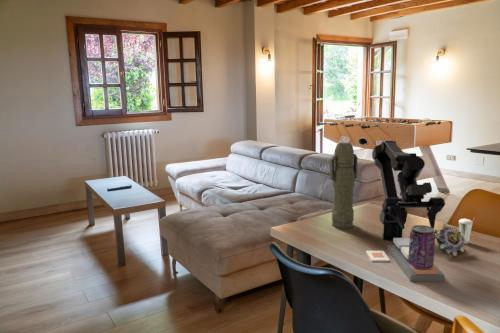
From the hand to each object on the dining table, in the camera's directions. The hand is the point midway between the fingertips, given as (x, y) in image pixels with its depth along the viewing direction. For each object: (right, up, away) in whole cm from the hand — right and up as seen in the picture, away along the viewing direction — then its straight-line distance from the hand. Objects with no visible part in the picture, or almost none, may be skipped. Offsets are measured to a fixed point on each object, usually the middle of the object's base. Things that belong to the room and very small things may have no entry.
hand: (418, 228), depth 131 cm
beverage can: (-1, -11, -4) cm, 12 cm away
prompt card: (-9, -11, +11) cm, 19 cm away
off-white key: (0, -9, +4) cm, 10 cm away
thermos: (-14, -5, +44) cm, 47 cm away
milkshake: (+27, -9, +23) cm, 36 cm away
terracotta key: (0, -12, -4) cm, 13 cm away
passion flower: (+16, -11, +15) cm, 25 cm away
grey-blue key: (+1, -8, +13) cm, 15 cm away
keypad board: (0, -13, +5) cm, 13 cm away
